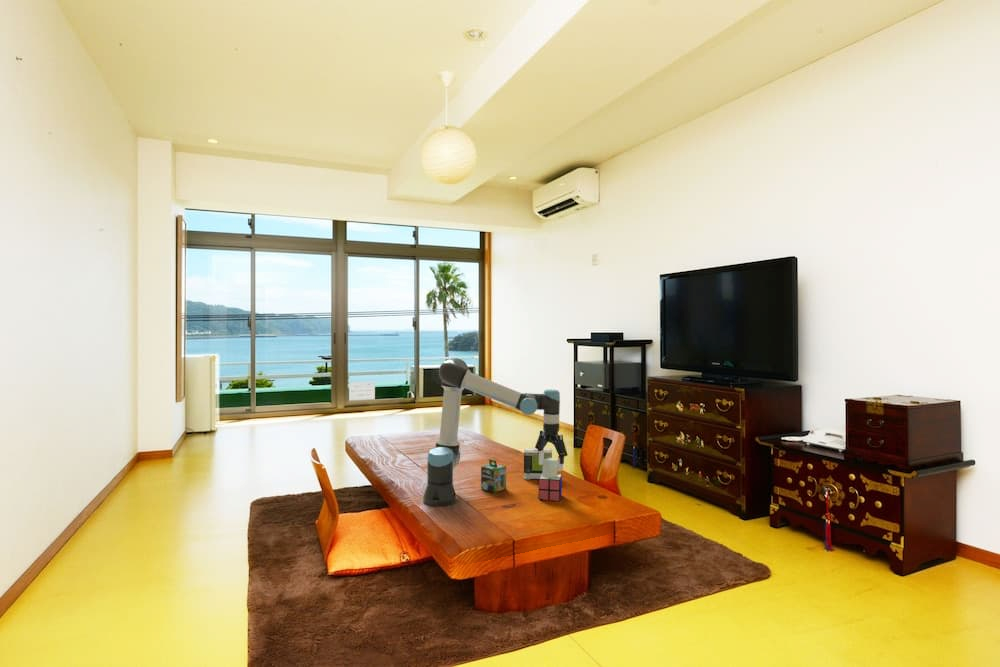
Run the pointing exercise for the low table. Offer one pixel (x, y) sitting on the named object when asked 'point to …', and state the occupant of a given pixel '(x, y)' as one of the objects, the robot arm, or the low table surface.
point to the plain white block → (550, 468)
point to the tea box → (534, 463)
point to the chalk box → (493, 477)
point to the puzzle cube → (550, 488)
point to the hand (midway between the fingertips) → (550, 467)
